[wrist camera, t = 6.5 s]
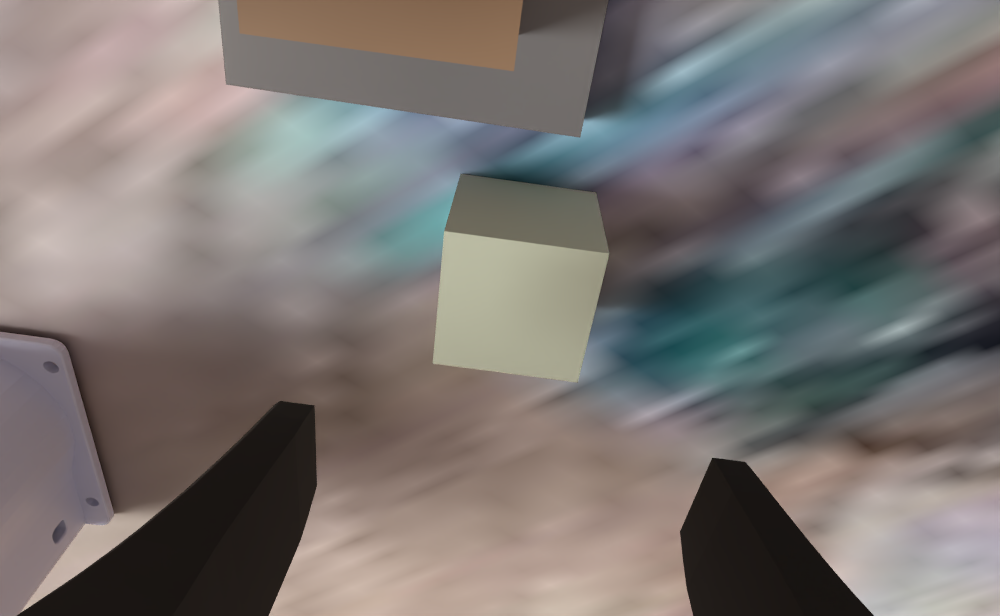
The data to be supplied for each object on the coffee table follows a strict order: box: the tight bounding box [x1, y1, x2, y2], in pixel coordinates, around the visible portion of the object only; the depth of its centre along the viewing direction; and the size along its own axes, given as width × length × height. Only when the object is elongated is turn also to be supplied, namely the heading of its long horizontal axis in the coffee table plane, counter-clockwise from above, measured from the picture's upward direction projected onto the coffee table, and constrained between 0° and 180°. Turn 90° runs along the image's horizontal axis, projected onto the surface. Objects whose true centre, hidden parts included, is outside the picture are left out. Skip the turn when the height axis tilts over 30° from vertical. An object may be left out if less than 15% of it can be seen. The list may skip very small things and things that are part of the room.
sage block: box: [433, 174, 609, 383], centre depth 18 cm, size 4×4×4 cm
